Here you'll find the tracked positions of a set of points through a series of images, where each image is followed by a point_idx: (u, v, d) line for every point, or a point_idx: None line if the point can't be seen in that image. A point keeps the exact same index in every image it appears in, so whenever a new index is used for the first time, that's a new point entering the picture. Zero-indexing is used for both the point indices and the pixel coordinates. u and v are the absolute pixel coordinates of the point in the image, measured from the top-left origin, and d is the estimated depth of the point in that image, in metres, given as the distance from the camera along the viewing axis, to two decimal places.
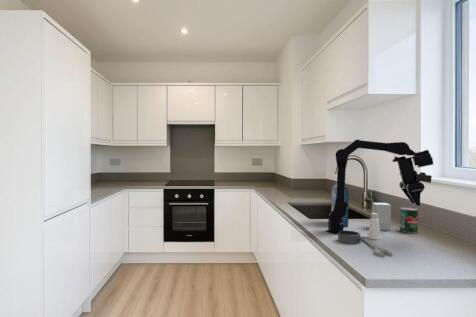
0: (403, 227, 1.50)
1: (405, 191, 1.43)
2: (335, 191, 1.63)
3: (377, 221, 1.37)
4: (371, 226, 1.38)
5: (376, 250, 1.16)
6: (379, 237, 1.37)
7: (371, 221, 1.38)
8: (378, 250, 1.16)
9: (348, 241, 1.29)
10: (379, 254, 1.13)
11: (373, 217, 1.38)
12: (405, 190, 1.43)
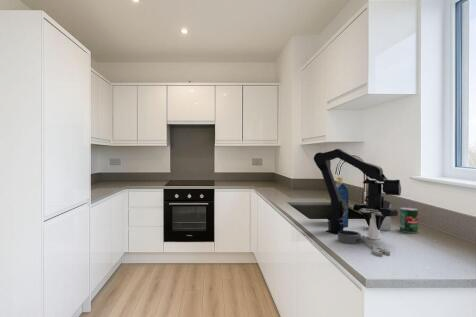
0: (403, 227, 1.50)
1: (367, 215, 1.40)
2: None
3: None
4: (371, 226, 1.38)
5: (374, 250, 1.17)
6: (379, 237, 1.37)
7: (371, 221, 1.38)
8: (376, 250, 1.17)
9: (348, 241, 1.29)
10: (377, 254, 1.14)
11: (373, 217, 1.38)
12: (367, 214, 1.40)
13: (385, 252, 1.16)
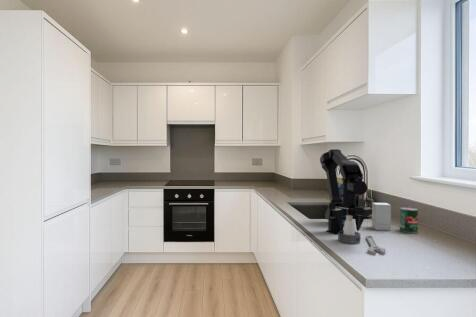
0: (403, 227, 1.50)
1: (337, 213, 1.37)
2: None
3: (352, 223, 1.32)
4: (346, 229, 1.32)
5: (370, 248, 1.19)
6: None
7: (346, 223, 1.33)
8: (372, 248, 1.19)
9: (348, 241, 1.29)
10: (370, 252, 1.16)
11: (348, 219, 1.32)
12: (337, 212, 1.37)
13: (380, 251, 1.17)
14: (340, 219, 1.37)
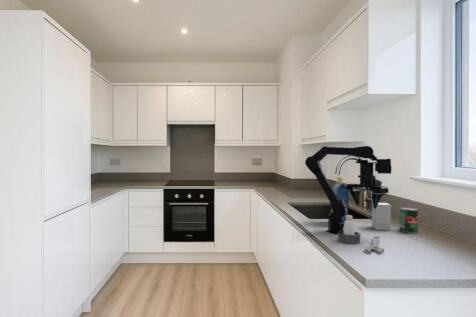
0: (403, 227, 1.50)
1: (354, 193, 1.47)
2: (335, 191, 1.63)
3: (352, 223, 1.32)
4: (346, 229, 1.32)
5: (368, 247, 1.20)
6: None
7: (346, 223, 1.33)
8: (370, 248, 1.20)
9: (348, 241, 1.29)
10: (366, 251, 1.17)
11: (348, 219, 1.32)
12: (354, 192, 1.47)
13: (377, 251, 1.17)
14: (357, 199, 1.47)
